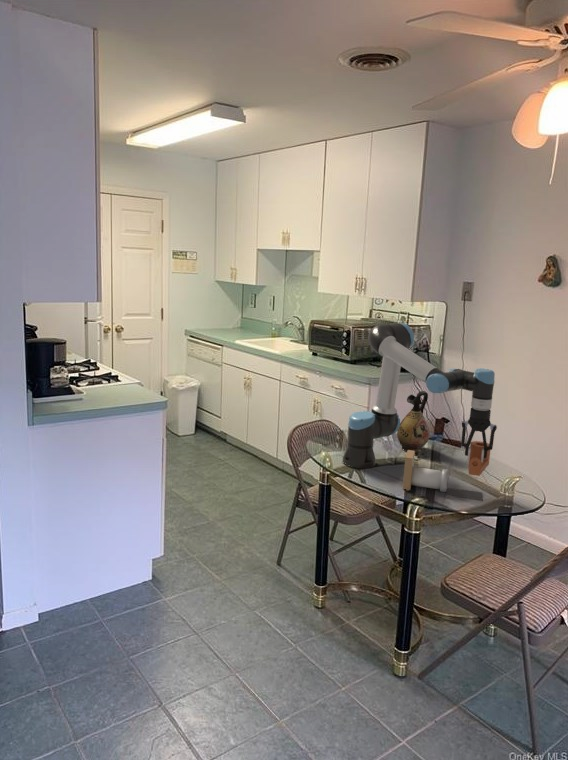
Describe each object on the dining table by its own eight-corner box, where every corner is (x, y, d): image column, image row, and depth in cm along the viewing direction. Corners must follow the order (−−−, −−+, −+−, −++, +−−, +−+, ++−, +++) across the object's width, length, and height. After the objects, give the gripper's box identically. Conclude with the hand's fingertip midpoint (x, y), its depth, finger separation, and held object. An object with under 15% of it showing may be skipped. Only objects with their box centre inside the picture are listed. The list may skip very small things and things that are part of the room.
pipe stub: (402, 489, 237) (405, 457, 234) (405, 480, 247) (407, 449, 244) (445, 496, 233) (449, 463, 230) (446, 486, 242) (449, 455, 239)
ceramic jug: (411, 456, 277) (416, 396, 271) (389, 447, 290) (394, 389, 284) (436, 451, 286) (442, 392, 280) (414, 442, 299) (419, 386, 292)
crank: (470, 440, 240) (490, 442, 237) (468, 458, 241) (488, 461, 239) (470, 454, 221) (492, 457, 219) (468, 474, 222) (490, 477, 220)
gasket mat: (446, 495, 233) (446, 494, 233) (447, 487, 241) (447, 487, 241) (482, 500, 229) (482, 499, 229) (482, 493, 237) (482, 492, 237)
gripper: (457, 408, 226) (451, 464, 231) (505, 413, 221) (498, 470, 226) (457, 403, 233) (452, 458, 238) (503, 408, 228) (497, 464, 233)
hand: (474, 464), depth 232 cm, fingers closed on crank, 4 cm apart
